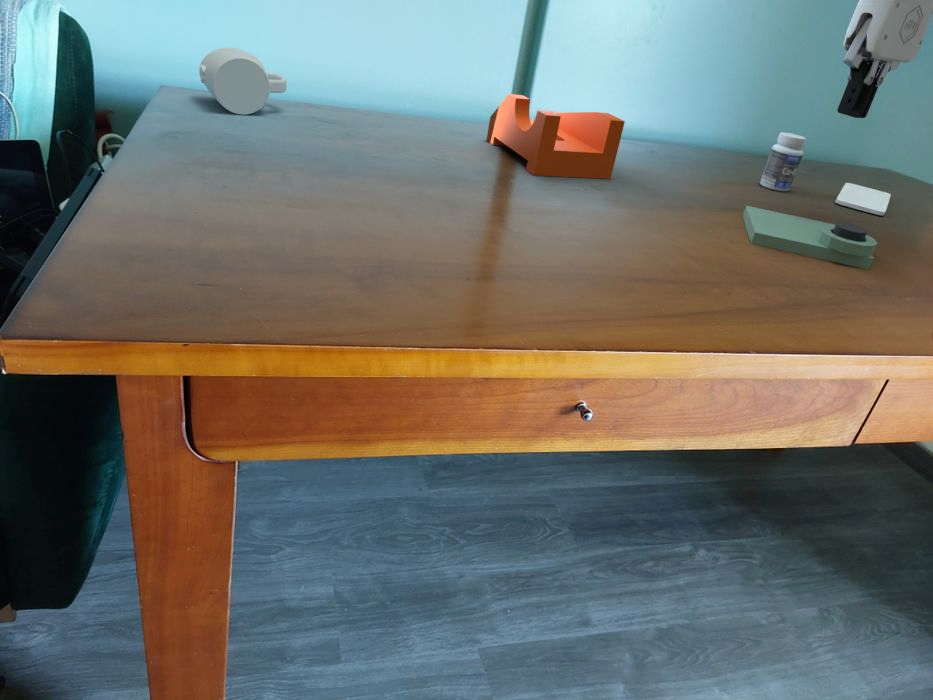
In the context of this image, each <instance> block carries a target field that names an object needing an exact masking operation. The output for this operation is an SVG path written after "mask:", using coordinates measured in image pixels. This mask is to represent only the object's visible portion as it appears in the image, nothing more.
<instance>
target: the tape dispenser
mask: <svg viewBox="0 0 933 700" xmlns="http://www.w3.org/2000/svg"><path fill="white" fill-rule="evenodd" d="M530 103H531V98H529V97H527V96H525V95H523V94H513V93H508V94H507V96H506V97H505V98H504V99H503V100H502V101H501V103H500V104H499V106H498V107H497V108H496V109H495V110H494V112H493V113H492V114H491V115H490V117H489V122H488V129H487V135H486V142H488V143H489V144H491V146H503V147H507V148H510V149H511V150H512V151H514V152H515V153H517V154H518V155H520V156H521V157H522V158H523V159H525V160H526V161H527V162H526V167H525V170H526V171H527V172H528V173H530V174H531V175H532V176H536V177H537V176H538V177H557V178H559V177H560V178H581V179H582V178H584V179H604V180H606V179H607V180H611V178H612V175H613V170H614V167H615V162H616V160H617V159H616V158H617V155H618V150H619V147H620V143H621V139H622V135H623V131H624V128H625V123H626V122H625V120H623V119H621V118H619V117H617V116H615V115H613V114H611V113H609V112H600V111H599V112H598V111H582V112H579V111H578V112H554V111H552V110H541V109H540V110H538V109H537V110H536V114H535V117H534V120H533V119H531V117H530V105H531V104H530Z"/></svg>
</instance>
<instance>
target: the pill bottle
mask: <svg viewBox="0 0 933 700" xmlns="http://www.w3.org/2000/svg"><path fill="white" fill-rule="evenodd" d="M806 141H807V138H806V137H805V136H803V135H799V134H796V133H792V132H783V131H781V132H780V133H779V134H778V137H777V140H776V142H777V143H775V144H773V145H772V147H771V150H770V152H769V156H768V158H767V160H766V163H765V166H764V169H763V172H762V175H761V177H760V180H759V184H760V185H761V186H762V187H764V188H766V189H769V190H773V191H777V192H789V191H790V190H791V187H792V184H793V182H794V179H795V176H796V175H797V171H798V168H799V166H800V163H801V161H802V159H803V156H804V150H802V148H804V146H805V143H806Z"/></svg>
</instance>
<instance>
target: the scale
mask: <svg viewBox="0 0 933 700" xmlns="http://www.w3.org/2000/svg"><path fill="white" fill-rule="evenodd" d="M742 219H743V223H744V225H745V229H746V231H747V235H748V238H749V242H750V244H751V245H756V246H760V247H765V248H769V249H774V250H778V251H783V252H786V253H791V254H796V255H800V256H801V255H802V256H806V257H809V258H814V259H819V260H823V261H827V262H832V263H837V264H842V265H845V266H846V265H847V266H850V267H855V268H860V269H864V270H870V268H871V266H872V263H873V261H874V259H875V257H874V256H873V255H874V253H875V251H876V249H877V246H878V242H877V240H875V238H874V237H871V236H869V235H867V234H866V237H865V239H864V241H863V242H857V241H852V240H848V239H844V238H842V237H839V236H837V235H835V234H833V233H832V232H833V230H834V228H835V225H836V223H835V224H834V223H830V222H824V221H822V220H821V221H820V220H817V219H816V220H815V219H810V218H807V217H801V216H798V215H791V214H787V213H783V212H778V211H773V210H769V209H764V208H759V207H754V206H750V205H745V208H744V211H743V214H742Z"/></svg>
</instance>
